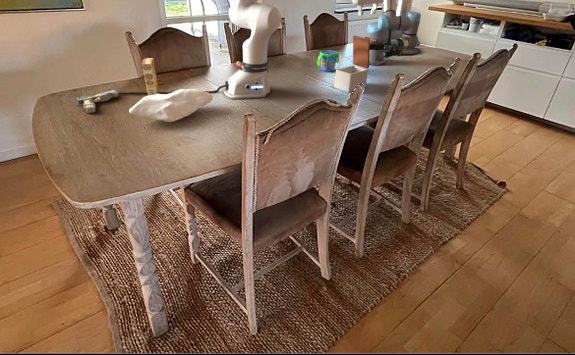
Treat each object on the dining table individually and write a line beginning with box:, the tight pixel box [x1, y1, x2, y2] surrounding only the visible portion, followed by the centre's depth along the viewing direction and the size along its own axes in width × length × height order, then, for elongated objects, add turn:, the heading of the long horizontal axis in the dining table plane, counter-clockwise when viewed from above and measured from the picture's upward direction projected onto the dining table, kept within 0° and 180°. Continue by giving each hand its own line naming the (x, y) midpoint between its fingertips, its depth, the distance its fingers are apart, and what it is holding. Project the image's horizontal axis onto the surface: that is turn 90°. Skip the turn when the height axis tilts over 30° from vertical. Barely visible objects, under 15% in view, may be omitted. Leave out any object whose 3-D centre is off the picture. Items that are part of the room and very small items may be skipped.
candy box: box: [141, 57, 160, 96], centre depth 163 cm, size 9×4×15 cm, turn 13°
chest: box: [333, 64, 369, 93], centre depth 184 cm, size 14×10×9 cm
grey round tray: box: [383, 46, 421, 55], centre depth 258 cm, size 35×35×9 cm
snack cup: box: [316, 49, 340, 73], centre depth 207 cm, size 16×10×10 cm
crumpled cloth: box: [129, 88, 214, 123], centre depth 147 cm, size 24×35×9 cm
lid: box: [352, 35, 378, 70], centre depth 182 cm, size 15×10×9 cm
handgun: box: [76, 89, 120, 114], centre depth 155 cm, size 3×18×15 cm
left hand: (366, 14), depth 171 cm, fingers open, 8 cm apart
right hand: (374, 51), depth 186 cm, fingers open, 13 cm apart
